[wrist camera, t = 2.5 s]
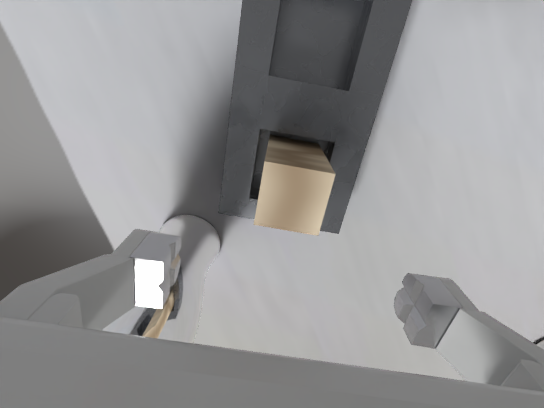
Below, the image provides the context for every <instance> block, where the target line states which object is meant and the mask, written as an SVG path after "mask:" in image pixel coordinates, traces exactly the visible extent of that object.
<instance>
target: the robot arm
mask: <svg viewBox="0 0 544 408" xmlns="http://www.w3.org/2000/svg"><path fill="white" fill-rule="evenodd" d="M180 249H181V237H180V236H175V235H170V234H164V233H159V232H153V231H152V232H151V231H147V230H141V229H135V230H133V231H132V233H131V234H130V235H129V236H128V237H127V238H126V239H125V240H124V241H123V242H122V243H121V244H120V246H119V247H118V248H117V249H116V250H115V251H114V252H113V253H112V254H111V255H109V254H105V255H102V256H100V257H97V258H94V259H91V260H89V261H86V262H83V263H80V264H78V265H75V266H72V267H69V268H67V269H64V270H61V271H58V272H56V273H53V274H50V275H47V276H44V277H42V278H39V279H36V280H34V281H31V282H28V283H25V284H23V285H20V286H19V287H17V288H16V289H15V290H14V291H13V292H11V293H10V294H9V295H8V296H6V297H5V298H4V299H3V300H2V301H1V302H0V408H544V340H543V341H541V342H540V343H538V344H536V345H535V344H534V343H532V342H531V341H529V340H527V339H526V338H524V337H523V336H521V335H520V334H518V333H516V332H515V331H513V330H512V329H510V328H508V327H507V326H505V325H504V324H502V323H500V322H499V321H497V320H496V319H494V318H493V317H491V316H489V315H488V314H486V313H485V312H481V311H479V310H478V309H477V308H476V307H475V305H474V304H473V303H472V302H471V301H470V300H469V298H468V297H467V296H466V295H465V294H464V293H463V291H462V290H461V289H460V288H459V287H458V286H457V284H456V283H455V282H454V281H453V280H451V279H449V278H442V277H432V276H425V275H418V274H411V273H408V274H407V275H406V276H405V277H404V279H403V281H402V283H403V286H404V288H402V289H401V290H399V291H398V292H397V294H396V296H395V300H394V308H395V313H396V315H397V317H398V318H399V319H400V320H401V321H402V322H403V323H405V324H404V327H403V329H404V331H405V333H406V335H407V337H408V339H409V341H410V343H411V345H417V346H423V347H429V348H434V349H436V351H437V352H438V353H439V354H440V355H441V356H442V357H443V358H444V359H445V360H446V361H447V362H448V363H449V364H450V365H451V366H452V367H453V368H454V369H455V370H456V371H457V372H458V373H459V374H460V375H461V376H462V377H463V378H464V379H465V380H466V381H462V380H455V379H448V378H441V377H433V376H426V375H419V374H411V373H404V372H397V371H390V370H382V369H375V368H368V367H361V366H354V365H346V364H339V363H332V362H325V361H318V360H311V359H304V358H296V357H289V356H282V355H275V354H267V353H260V352H253V351H246V350H238V349H231V348H224V347H216V346H209V345H202V344H194V343H187V342H180V341H173V340H165V339H158V338H151V337H144V336H137V335H130V334H123V333H116V332H108V331H101V330H102V329H104V328H105V327H107V326H108V325H109V324H111V323H112V322H114V321H115V320H117V319H118V318H119V317H121V316H122V315H124V314H125V313H127V312H128V311H130V310H131V309H132V308H134V307H135V305H136V306H144V307H153V308H163V306H164V304H165V302H166V300H167V298H168V296H169V293H170V286H172V285H174V283H175V281H176V279H177V276H178V273H179V269H180V261H181V258H180V256H179V255H178V252H179V250H180Z"/></svg>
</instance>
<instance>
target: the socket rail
mask: <svg viewBox="0 0 544 408" xmlns="http://www.w3.org/2000/svg"><path fill="white" fill-rule="evenodd" d="M411 2H412V0H243V1H242V10H241V19H240V27H239V36H238V45H237V54H236V63H235V72H234V81H233V89H232V98H231V107H230V116H229V125H228V134H227V143H226V152H225V160H224V169H223V178H222V187H221V196H220V205H219V213H221V214H226V215H232V216H238V217H244V218H250V219H255V214H256V208H257V202H258V196H259V191H260V185H261V179H262V173H263V167H264V162H265V156H266V151H267V146H268V141H269V136H270V135H275V136H281V137H286V138H292V139H297V140H302V141H308V142H313V143H318V144H319V145H320V147H321V149H322V151H323V152H324V154H325V156H326V158H327V160H328V161H329V163H330V165H331V167H332V168H333V170H334V172H335V174H336V175H335V178H334V182H333V185H332V189H331V192H330V196H329V199H328V203H327V207H326V210H325V214H324V217H323V221H322V224H321V228H320V231H325V232H331V233H337V234H339V231H340V228H341V225H342V221H343V218H344V215H345V212H346V209H347V206H348V202H349V199H350V196H351V193H352V190H353V186H354V183H355V180H356V177H357V174H358V171H359V167H360V164H361V161H362V158H363V155H364V152H365V148H366V145H367V142H368V139H369V136H370V133H371V129H372V126H373V123H374V120H375V117H376V113H377V110H378V107H379V104H380V101H381V98H382V94H383V91H384V88H385V85H386V82H387V79H388V75H389V72H390V69H391V66H392V63H393V60H394V56H395V53H396V50H397V47H398V44H399V40H400V37H401V34H402V31H403V28H404V25H405V21H406V18H407V15H408V12H409V9H410V6H411Z"/></svg>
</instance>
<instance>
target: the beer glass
mask: <svg viewBox="0 0 544 408" xmlns="http://www.w3.org/2000/svg"><path fill="white" fill-rule="evenodd" d="M159 233H164V234H170V235H175V236H180V237H181V249H180V250H179V252H178V255H179V256H180V258H181V261H180V269H179V273H178V276H177V279H176V281H175V283H174V285H172V286H170V293H169V296H168V298H167V300H166V302H165V304H164V306H163V308H153V307H144V306H136V305H135V307H134V308H132V309H131V310H130V311H128V312H127V313H125V314H124V315H122V316H121V317H119V318H118V319H117V320H115V321H114V322H112V323H111V324H109V325H108V326H107V327H105V328H104V329H102V330H101V331H108V332H116V333H123V334H130V335H137V336H144V337H151V338H158V339H165V340H173V341H180V342H187V343H194V341H195V337H196V334H197V330H198V327H199V322H200V317H201V311H202V304H203V296H204V286H205V279H206V274H207V271H208V269H209V267H210V266H211V265H212V263H213V262H214V261H215V259H216V258H217V256H218V254H219V251H220V239H219V236H218V233H217V232H216V230H215V229H214V227H213V226H212V225H211V224H210V223H208V222H207V221H205V220H204V219H202V218H200V217H197V216H193V215H179V216H175V217H173V218H171V219H169V220H168V221H167V222H165V223H164V225H163V226H162V227H161V229H160V231H159Z"/></svg>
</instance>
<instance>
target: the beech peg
mask: <svg viewBox="0 0 544 408" xmlns="http://www.w3.org/2000/svg"><path fill="white" fill-rule="evenodd" d="M335 175H336V174H335V172H334V170H333V168H332V167H331V165H330V163H329V161H328V160H327V158H326V156H325V154H324V152H323V151H322V149H321V147H320V145H319V144H318V143H313V142H308V141H302V140H297V139H292V138H286V137H281V136H275V135H270V136H269V141H268V146H267V151H266V156H265V162H264V167H263V173H262V179H261V185H260V191H259V196H258V202H257V208H256V214H255V220H254V225H259V226H265V227H271V228H277V229H282V230H288V231H294V232H300V233H306V234H312V235H317V236H318V235H319V231H320V228H321V224H322V221H323V217H324V214H325V210H326V207H327V203H328V199H329V196H330V192H331V189H332V185H333V182H334V178H335Z"/></svg>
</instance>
